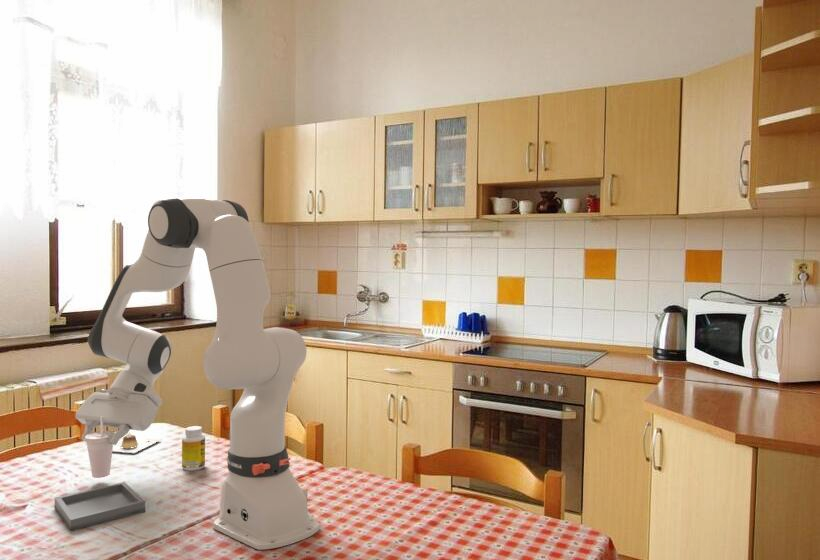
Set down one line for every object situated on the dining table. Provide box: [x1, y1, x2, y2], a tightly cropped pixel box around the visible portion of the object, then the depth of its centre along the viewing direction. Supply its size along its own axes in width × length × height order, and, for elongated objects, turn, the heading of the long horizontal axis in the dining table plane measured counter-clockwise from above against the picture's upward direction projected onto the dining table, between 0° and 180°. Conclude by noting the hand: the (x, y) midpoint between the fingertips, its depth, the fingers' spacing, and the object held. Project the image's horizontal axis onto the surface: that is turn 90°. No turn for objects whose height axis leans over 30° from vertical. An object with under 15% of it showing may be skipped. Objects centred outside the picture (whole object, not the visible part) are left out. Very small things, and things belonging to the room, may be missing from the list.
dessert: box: [112, 431, 161, 455], centre depth 167 cm, size 12×12×5 cm
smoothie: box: [84, 416, 116, 479], centre depth 140 cm, size 6×6×14 cm
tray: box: [54, 481, 146, 532], centre depth 126 cm, size 14×14×2 cm
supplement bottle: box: [181, 425, 206, 472], centre depth 151 cm, size 6×6×10 cm
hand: (98, 441), depth 139 cm, fingers closed on smoothie, 6 cm apart
